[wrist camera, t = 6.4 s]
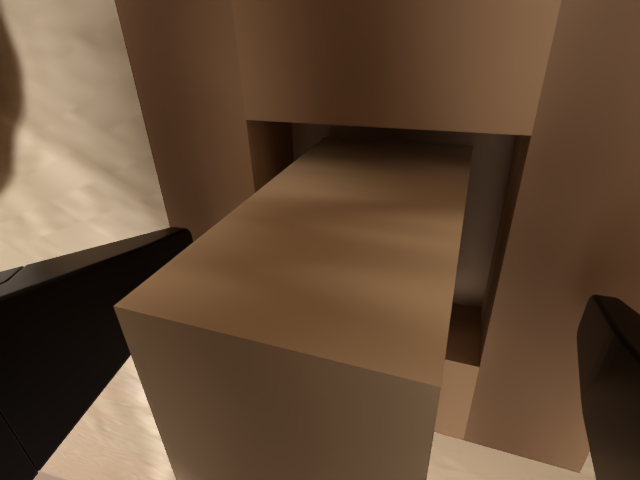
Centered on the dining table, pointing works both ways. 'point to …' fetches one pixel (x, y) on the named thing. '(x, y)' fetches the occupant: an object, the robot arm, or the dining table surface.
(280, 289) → the maple peg
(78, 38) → the dining table surface
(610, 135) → the socket block
